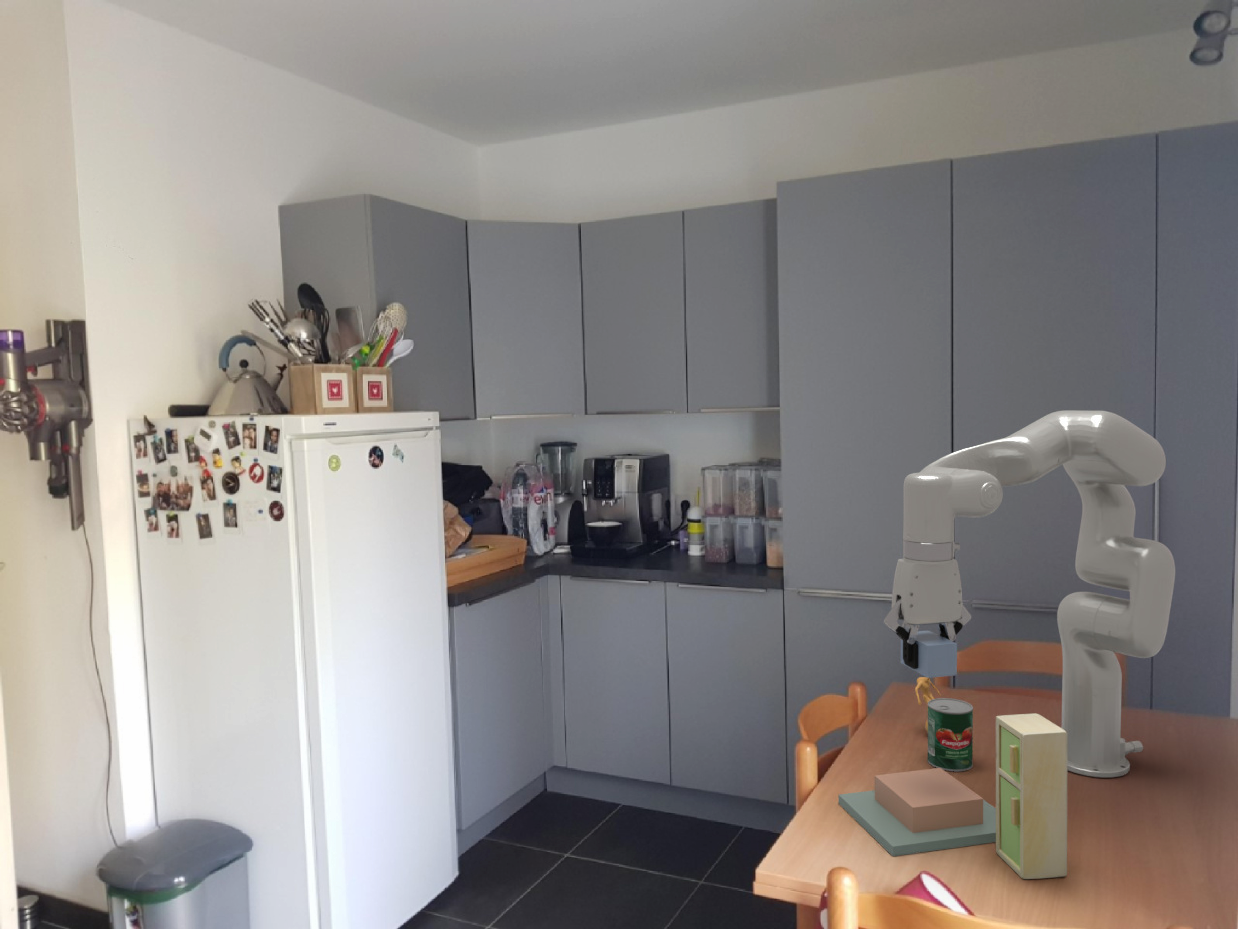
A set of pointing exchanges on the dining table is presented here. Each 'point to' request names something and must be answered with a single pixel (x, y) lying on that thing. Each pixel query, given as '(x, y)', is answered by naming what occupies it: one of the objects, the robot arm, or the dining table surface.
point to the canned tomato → (950, 734)
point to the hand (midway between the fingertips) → (927, 664)
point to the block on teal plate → (922, 812)
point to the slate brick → (934, 655)
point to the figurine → (925, 692)
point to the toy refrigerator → (1031, 795)
